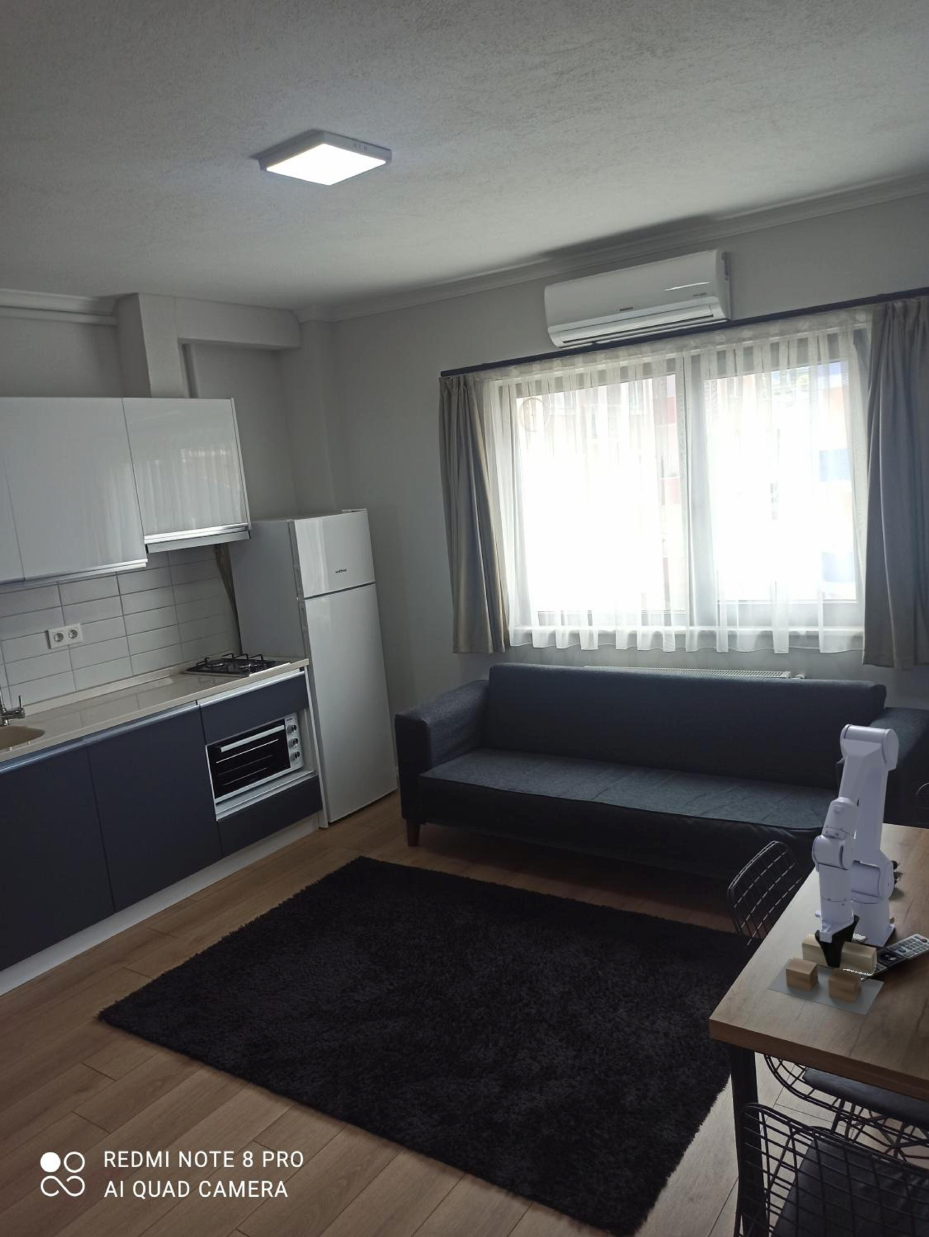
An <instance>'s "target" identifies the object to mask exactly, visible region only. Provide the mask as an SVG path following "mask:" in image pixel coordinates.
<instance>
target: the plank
mask: <svg viewBox="0 0 929 1237" xmlns="http://www.w3.org/2000/svg"><path fill="white" fill-rule="evenodd" d="M801 947H802V959H803V960H807V961H811V962H815V963H817V966H821V967H826V968H829V967H828V965H827V962H826V959H825V956H824V953H823V951H822V948H821V947H820V945H819V943H818V942H817V941H816V939H815V934H814V933H813V934H812V933H807V935H806V936H805V938H804V940H803V941H802V942H801ZM877 963H878V960H877V947H874V946H873V947H871V946H869V945H868V946H867V945H863V944H859V943H854V942H852V943H850V942H845V943H844V945H843V949H842V954H841V964H840V967H839V969H850V970H854V971H857V972H862V973H866V974H867V973H868V974H872V973H873V971H874V969H875V966H876V964H877ZM877 965H878V964H877ZM831 968H832V967H830V969H831ZM832 969H833V968H832Z"/></svg>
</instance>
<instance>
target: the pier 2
mask: <svg viewBox="0 0 929 1237" xmlns="http://www.w3.org/2000/svg"><path fill="white" fill-rule="evenodd" d="M833 970H834V971H833V973H832V974H831V976H830V977H829V979H828V984H829V997H833V998H837V999H840V1000H844V1001H848V1002H852V1003H855V1001H856V999H857V998H858V996H859V994H860V993H861V977H862V975H861V974H859V973H855V972H851V971H847V970H843V969H839V968H834V969H833Z"/></svg>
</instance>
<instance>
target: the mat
mask: <svg viewBox="0 0 929 1237" xmlns="http://www.w3.org/2000/svg"><path fill="white" fill-rule="evenodd" d="M792 959H793V958H789V959H788V960H787V962H786V963H785V964H784V966H783V967H782V968H781V970H779V972H778V973H777V975H776V976H775V978H774V979H773V980H772V981H771V983H770V984H769V986H768V987H767V990H770V991H775V992H777V993H778V992H779V993H782V994H786V995H790V996H793V997H797V998H800V999H804V1000H807V1001H811V1002H814V1003H818V1004H823V1005H826V1006H829V1007H833V1008H837V1009H840V1010H844V1011H847V1012H851V1013H855V1014H858V1015H862V1016H866V1015H867V1013H868V1012H869V1010H870V1009H871V1006H872V1005H873V1003H874V1001H875V999H876V998H877V996H878V994H879V992H880V991H881V989H882V987H883V985H884V983H885V982H884V981H881V980H876V979H871V978H869V979H868V980H866V981H864V982H861V993H860V994H859V996H858V998H857V999H856V1001H855V1003H852V1002H848V1001H844V1000H840V999H837V998H833V997H829V984H828V979H829V977H830V976H831V974H832V973H833V971H834V970H835V969H834V968H832V969H831V968H830V967H826V966H822V965H817V968H818V981H817V982H816V984H815V985H814V987H813V988H812V990H811V991H807V990H803V989H799V988H796V987H792V986H788V985H787V982H786V967H787V966H788V965H789V963H790V962H791V961H792Z"/></svg>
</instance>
